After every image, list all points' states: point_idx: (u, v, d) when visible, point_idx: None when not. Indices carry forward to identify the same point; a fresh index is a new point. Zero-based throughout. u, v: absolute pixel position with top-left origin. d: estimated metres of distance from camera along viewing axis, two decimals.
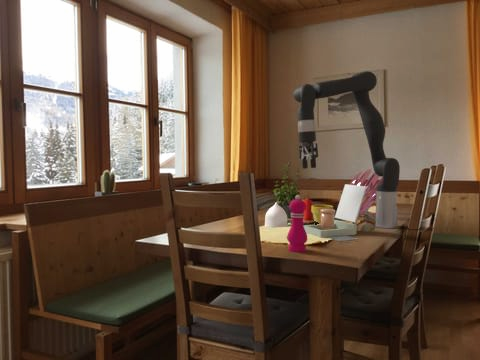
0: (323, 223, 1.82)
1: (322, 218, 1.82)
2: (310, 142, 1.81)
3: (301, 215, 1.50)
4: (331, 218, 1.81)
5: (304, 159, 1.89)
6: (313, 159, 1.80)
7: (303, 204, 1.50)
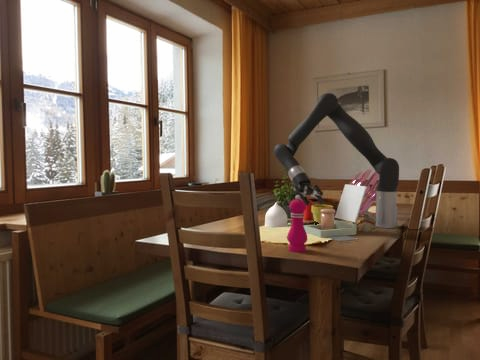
0: (323, 223, 1.82)
1: (322, 218, 1.82)
2: (297, 186, 1.94)
3: (301, 215, 1.50)
4: (331, 218, 1.81)
5: (317, 197, 1.94)
6: (302, 198, 1.89)
7: (303, 204, 1.50)
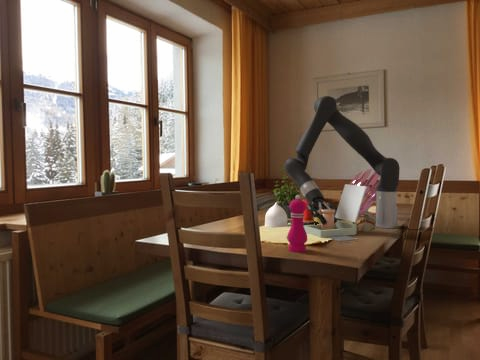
0: None
1: None
2: (310, 203, 1.87)
3: (301, 215, 1.50)
4: (331, 218, 1.81)
5: None
6: (319, 217, 1.82)
7: (303, 204, 1.50)
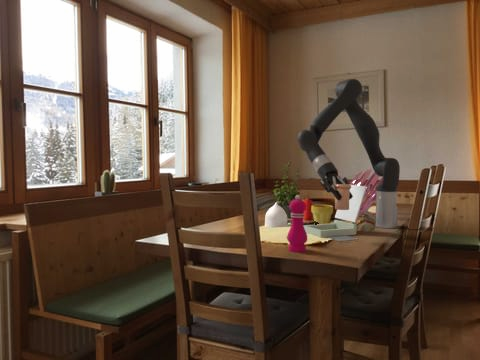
0: None
1: None
2: (324, 177, 1.73)
3: (301, 215, 1.50)
4: (346, 193, 1.68)
5: None
6: (333, 192, 1.69)
7: (303, 204, 1.50)
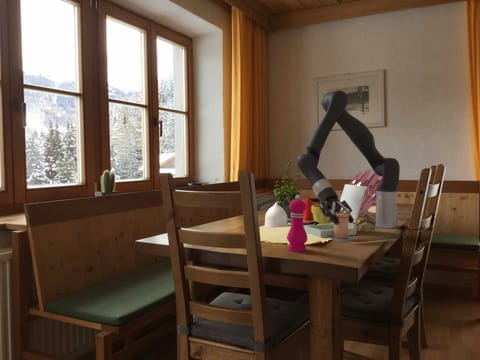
0: (336, 228, 1.69)
1: None
2: (324, 202, 1.74)
3: (301, 215, 1.50)
4: (345, 222, 1.68)
5: None
6: (330, 217, 1.69)
7: (303, 204, 1.50)
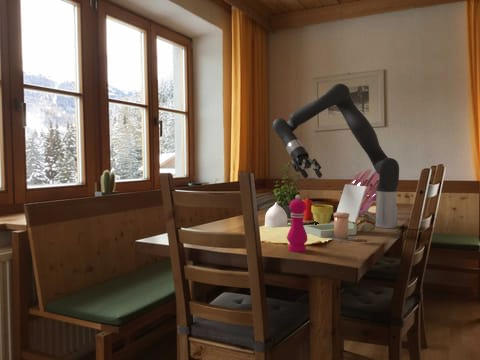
0: (336, 228, 1.69)
1: (335, 222, 1.70)
2: (295, 159, 1.93)
3: (301, 215, 1.50)
4: (345, 222, 1.68)
5: (315, 170, 1.94)
6: (300, 171, 1.88)
7: (303, 204, 1.50)
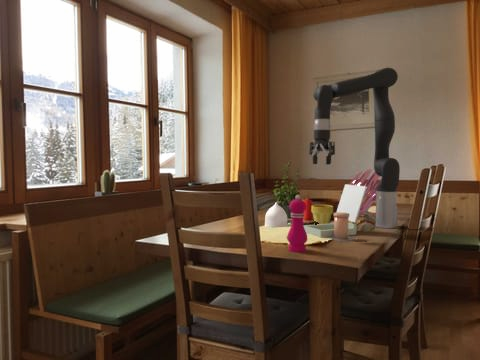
0: (336, 228, 1.69)
1: (335, 222, 1.70)
2: (327, 140, 1.93)
3: (301, 215, 1.50)
4: (345, 222, 1.68)
5: (315, 155, 2.00)
6: (329, 156, 1.92)
7: (303, 204, 1.50)
